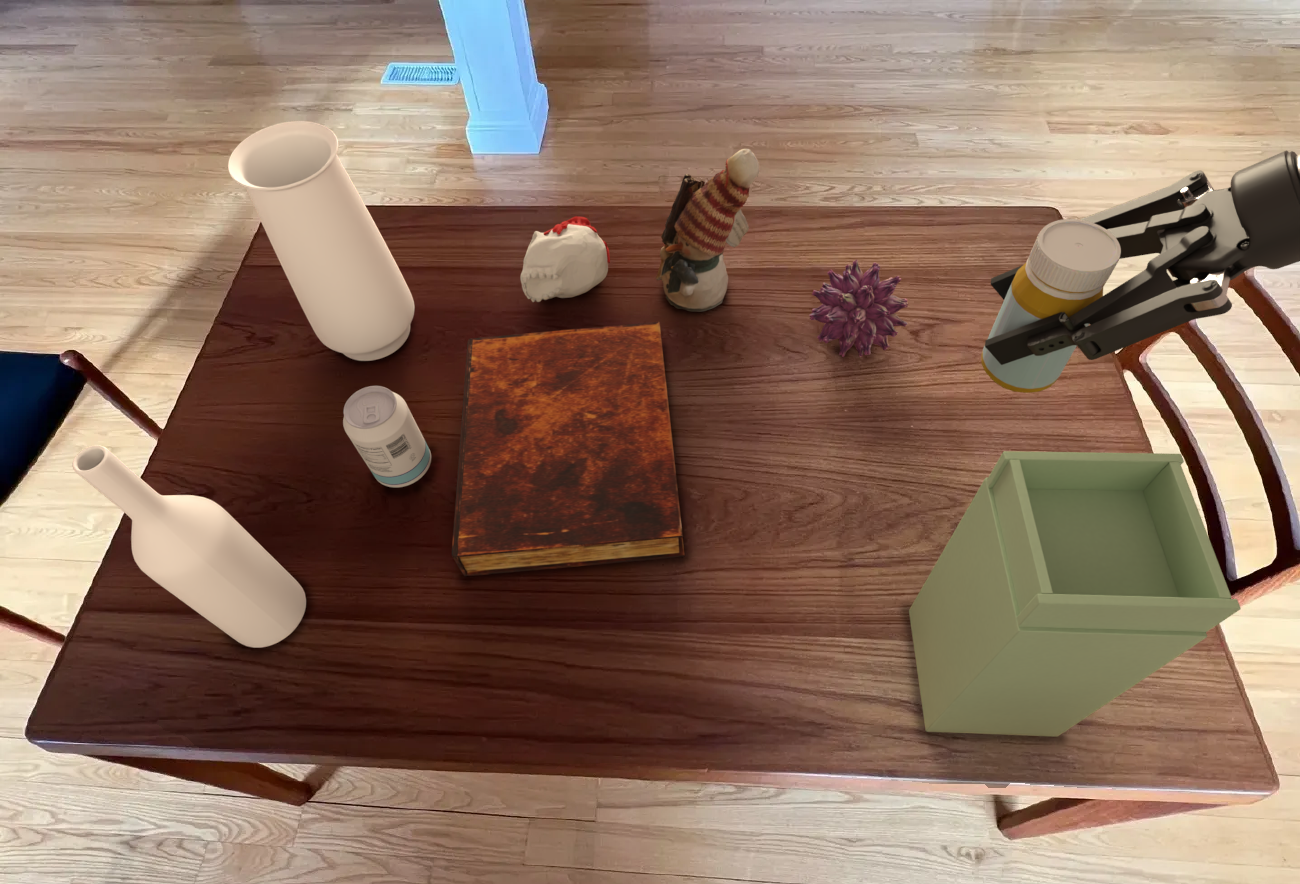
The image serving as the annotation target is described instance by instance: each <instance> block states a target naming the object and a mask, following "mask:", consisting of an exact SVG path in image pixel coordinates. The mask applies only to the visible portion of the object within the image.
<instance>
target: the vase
mask: <svg viewBox="0 0 1300 884" xmlns="http://www.w3.org/2000/svg"><path fill="white" fill-rule="evenodd" d="M339 146H340V145H339V139H338V137H337V135H336V134H335V132H334V131H333V130H332V129H330V128H329V127H327V125H324V124H321V123H318V122H315V121H309V120H292V121H291V120H290V121H285V122H279V123H275V124H271V125H268V126H266V127H264V128H262V129H260V130H259V129H258V130H257V131H255V132H253V133H251V134H250V135H249V136H247V137H246V138H244V139H243V140H242V141H241V142H239V144H237V146H236V147H235V148H234V149H233V151H232V153H231V154H230V156H229V159H228V163H227V169H228V174H229V176H230V177H231V179H232V180H233V181H234V182H235V183H236V184H238V185H239V186H241V187H243V188H245V190H246V192H247V194H248V197H249V199H250V200H251V204H252V205H253V208H254V210H255V212H256V214H257V216H258V219H259V221H260V223H261V225H262V227H263V229H264V231H265V233H266V236H267V238H268V240H269V242H270V244H271V246H272V248H273V251H274V253H275V255H276V257H277V259H278V261H279V263H280V265H281V268H282V270H283V272H284V275H285V276H286V278H287V280H288V282H289V285H290V286H291V289H292V290H293V292H294V296H295V297H296V299H297V301H298V303H299V305H300V307H301V309H302V311H303V313H304V315H305V317H306V320H307V321H308V323H309V324H310V326H311V328H312V330H313V332H314V333H315V335H316V337H317V338H318V339H319V342H321V343H322V344H323V345H324V346H326V347H327V348H328V349H330V350H331V351H335V352H337V353H341V354H342V355H344V356H345V357H347V358H349V359H352V360H354V361H358V362H370V361H376V360H380V359H383V358H385V357H388V356H390V355H392V354H393V353H395V352H396V351H398V350H399V349H400V348H401V347H402V346H403V345H404V344H405V342H406V341H407V339H408V338H409V336H410V332H411V324H412V321H413V319H414V316H415V308H416V307H415V301H414V297H413V294H412V292H411V290H410V288H409V286H408V284H407V282H406V280H405V277H404V276H403V274H402V272H401V270H400V268H399V266H398V264H397V262H396V260H395V258H394V256H393V255H392V252H391V251H390V248H389V247H388V244H387V243H386V241H385V239H384V238H383V236H382V234H381V232H380V229H379V228H378V227H377V224H376V222H375V221H374V219H373V217H372V215H371V213H370V212H369V209H368V207H367V206H366V204H365V202H364V201H363V198H362V197H361V195H360V193H359V191H358V190H357V188H356V186H355V184H354V183H353V181H352V179H351V177H350V175H349V173H348V172H347V170H346V168H345V166H344V164H343V163H342V161H341V159H340V157H339V155H338V153H339V148H340V147H339Z"/></svg>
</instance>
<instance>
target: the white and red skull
mask: <svg viewBox="0 0 1300 884" xmlns="http://www.w3.org/2000/svg"><path fill="white" fill-rule="evenodd" d="M591 224H592V223H591V221H590V220H589V219H588V218H587V217H584V216H577V215H574V216H573V217H571V218H569V219H567V220H563V221H562V222H560V223H557V224H555V225H554V227H552V228H550V229H548V230H546V231H544V232H541V231H539V230H535V231H533V234H532V237H531V240H530V242H529V244H528V247H527V249H526V252H525V256H524V257H523V265H522V271H521V273H520V278H519V279H520V283H521V289H522V292H523V294H524V296H525V297H526V299H527V300H531V302H532V303H534V302H536V303H541V301H542V300H544V301H547V300H551V299H553V298H560V299H568V298H570V299H571V298H575V297H579V296H580V295H583V294H585V293H587V292H589V291H590V290H592V289H593V288H594V287H596V286H597V285H599V284H600V283H601V282H603V281H604V280H605V278H606V277H607V275H608V272H609V264H610V263H611V253H610V248H609V247H608V243H607V242H606V241H605V240H603V239H602V238H601V237H600V236H599V235H598V231H597V229H596V228H595V226H592V225H591Z"/></svg>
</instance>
